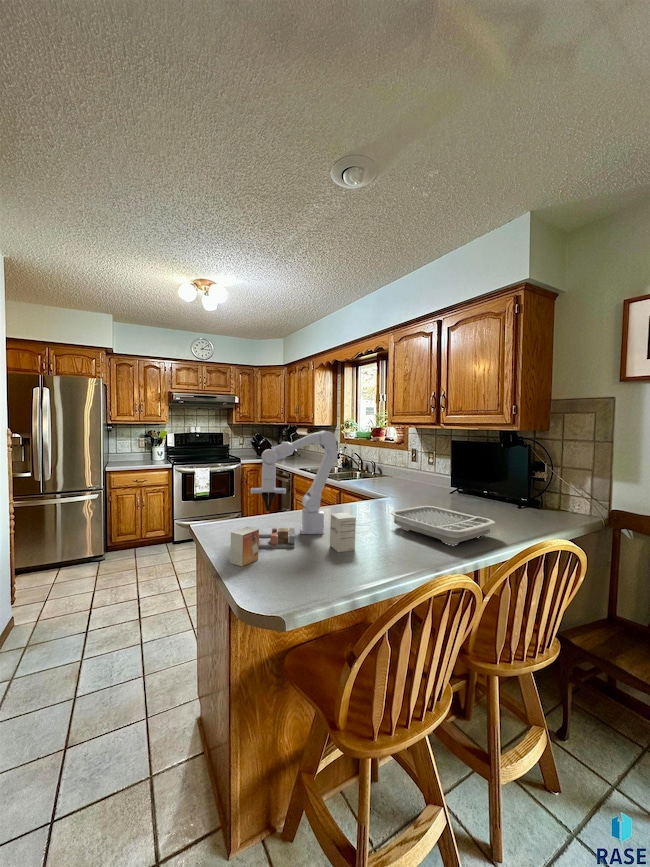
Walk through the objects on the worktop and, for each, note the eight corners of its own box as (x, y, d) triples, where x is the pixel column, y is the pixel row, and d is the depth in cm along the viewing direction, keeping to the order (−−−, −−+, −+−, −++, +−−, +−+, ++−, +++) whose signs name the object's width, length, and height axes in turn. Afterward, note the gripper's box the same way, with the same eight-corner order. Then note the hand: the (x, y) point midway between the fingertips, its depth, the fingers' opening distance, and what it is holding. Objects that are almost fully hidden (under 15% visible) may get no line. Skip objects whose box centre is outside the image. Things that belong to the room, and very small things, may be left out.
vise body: (294, 536, 145) (294, 526, 145) (294, 548, 132) (294, 537, 132) (252, 536, 143) (252, 527, 143) (248, 548, 130) (248, 537, 130)
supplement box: (329, 546, 135) (330, 513, 135) (346, 543, 138) (347, 511, 137) (337, 552, 128) (338, 518, 128) (355, 550, 131) (356, 516, 131)
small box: (241, 567, 114) (242, 535, 113) (229, 563, 117) (230, 532, 116) (258, 559, 121) (259, 529, 120) (247, 555, 124) (247, 526, 123)
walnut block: (288, 540, 140) (288, 528, 140) (288, 544, 136) (288, 531, 136) (278, 540, 140) (278, 528, 139) (277, 544, 136) (277, 531, 135)
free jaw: (278, 537, 143) (278, 525, 142) (277, 546, 133) (277, 533, 132) (272, 537, 142) (272, 525, 142) (271, 546, 132) (271, 533, 132)
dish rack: (428, 518, 178) (428, 502, 178) (499, 539, 149) (500, 520, 149) (384, 528, 160) (385, 511, 159) (456, 554, 130) (457, 533, 130)
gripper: (286, 476, 151) (285, 508, 151) (252, 476, 149) (251, 508, 150) (286, 479, 144) (285, 512, 144) (250, 479, 142) (249, 512, 143)
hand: (268, 510), depth 147 cm, fingers closed
